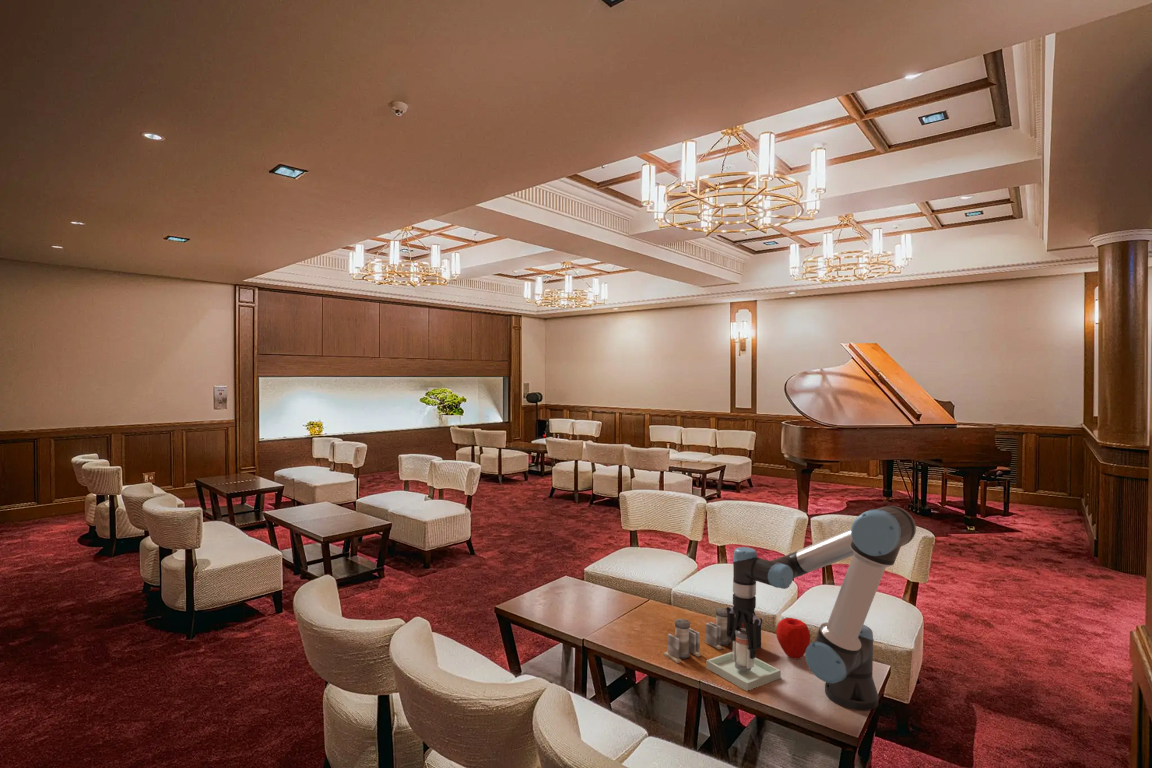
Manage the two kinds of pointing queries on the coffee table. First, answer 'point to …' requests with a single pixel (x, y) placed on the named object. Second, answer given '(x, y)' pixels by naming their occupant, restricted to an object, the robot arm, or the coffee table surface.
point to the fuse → (741, 649)
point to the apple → (793, 637)
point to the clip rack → (697, 637)
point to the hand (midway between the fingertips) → (743, 663)
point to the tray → (743, 672)
